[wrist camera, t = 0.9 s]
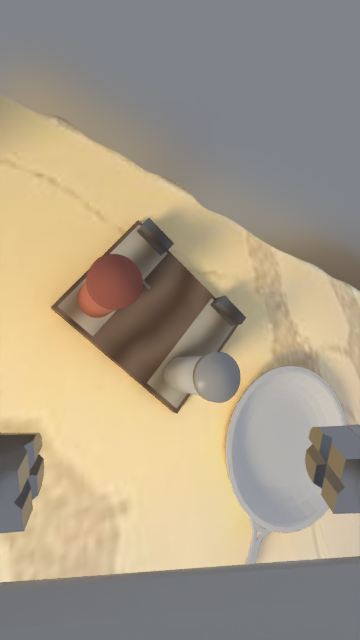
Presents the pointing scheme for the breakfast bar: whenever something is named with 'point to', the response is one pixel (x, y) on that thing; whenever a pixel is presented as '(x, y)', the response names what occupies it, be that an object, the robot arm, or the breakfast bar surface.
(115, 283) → the red plug
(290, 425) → the pan
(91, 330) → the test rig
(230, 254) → the breakfast bar surface
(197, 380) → the grey plug
